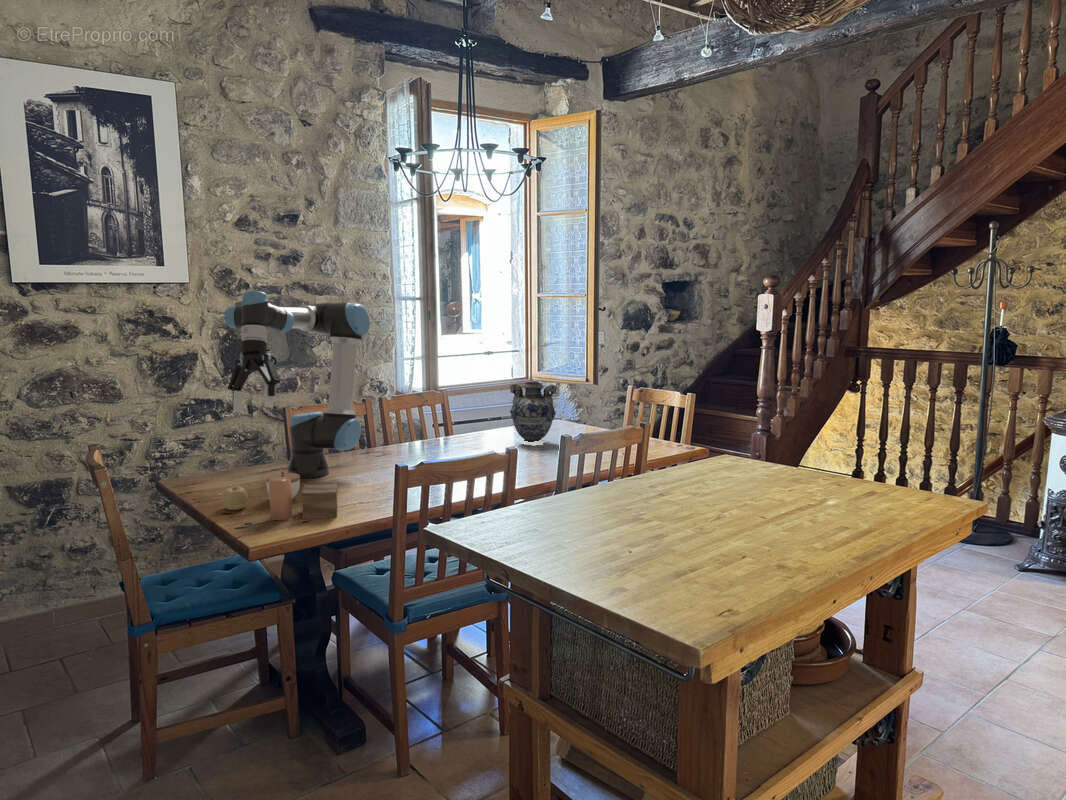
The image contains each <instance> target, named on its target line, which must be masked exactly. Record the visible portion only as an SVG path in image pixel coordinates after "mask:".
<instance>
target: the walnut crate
mask: <svg viewBox="0 0 1066 800" xmlns="http://www.w3.org/2000/svg"><path fill="white" fill-rule="evenodd" d="M301 498H302V499H301V501H302V502H301V503H302V504H301V505H302V519H303V520H305V519H304V518H314V519H323V518H322V517H331V518H337V517H338V509H337V508H338V507H339V506H338V483H322V484H320V483H319V484H304V485H303V488H302V492H301Z"/></svg>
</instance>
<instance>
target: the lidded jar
mask: <svg viewBox="0 0 1066 800" xmlns="http://www.w3.org/2000/svg"><path fill="white" fill-rule="evenodd" d="M275 477H289V478H291V494H292V499H293V498H295V497H296V496H297V495H298V494H299V491H300V485H301V481H300V480H301V478H300V475H299V474H296V473H287V472H285V470H283V471H280V472H279V473H278V472H277V473H272V474H268V475H267V476H266V477H265V481H266V489H267V492H268V494H269V479H271V478H275ZM293 500H294V499H293Z"/></svg>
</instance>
